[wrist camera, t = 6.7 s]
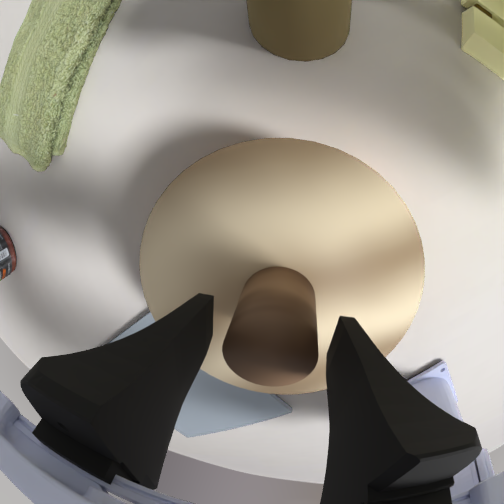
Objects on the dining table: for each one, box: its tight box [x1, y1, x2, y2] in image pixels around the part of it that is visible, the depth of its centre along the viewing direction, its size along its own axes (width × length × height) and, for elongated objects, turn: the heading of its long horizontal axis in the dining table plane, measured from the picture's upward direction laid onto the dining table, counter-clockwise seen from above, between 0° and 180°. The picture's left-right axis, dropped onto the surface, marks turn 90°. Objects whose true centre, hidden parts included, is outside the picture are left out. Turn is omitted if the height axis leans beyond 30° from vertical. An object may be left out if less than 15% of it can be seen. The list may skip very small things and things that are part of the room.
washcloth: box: [0, 0, 122, 172], centre depth 13 cm, size 13×18×3 cm
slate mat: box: [109, 312, 292, 438], centre depth 25 cm, size 16×16×1 cm
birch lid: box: [139, 138, 425, 394], centre depth 12 cm, size 15×15×5 cm
